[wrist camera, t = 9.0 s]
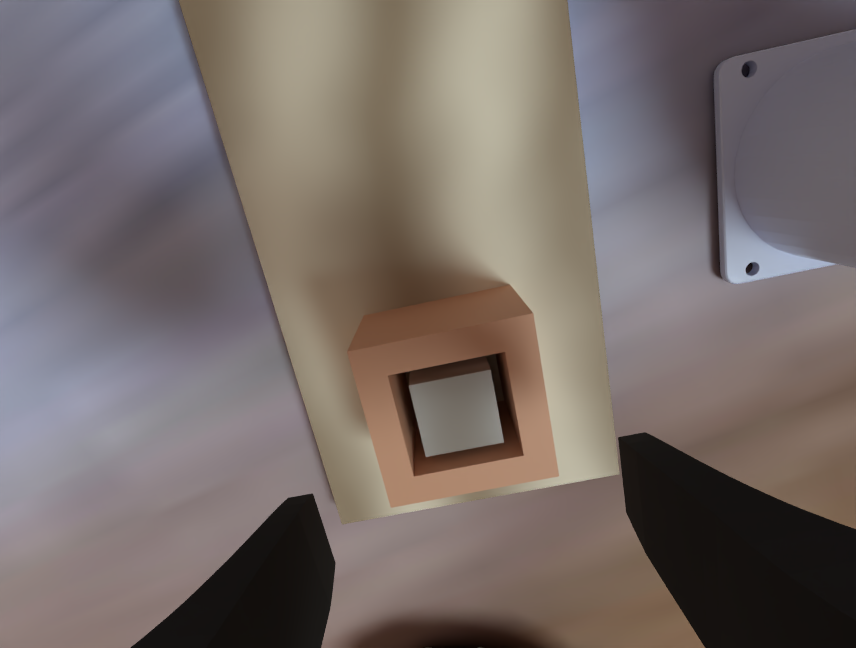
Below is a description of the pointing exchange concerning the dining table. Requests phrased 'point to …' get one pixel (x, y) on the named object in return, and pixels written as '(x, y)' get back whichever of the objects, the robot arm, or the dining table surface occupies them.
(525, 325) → the collar
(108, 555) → the dining table surface
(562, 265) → the board
